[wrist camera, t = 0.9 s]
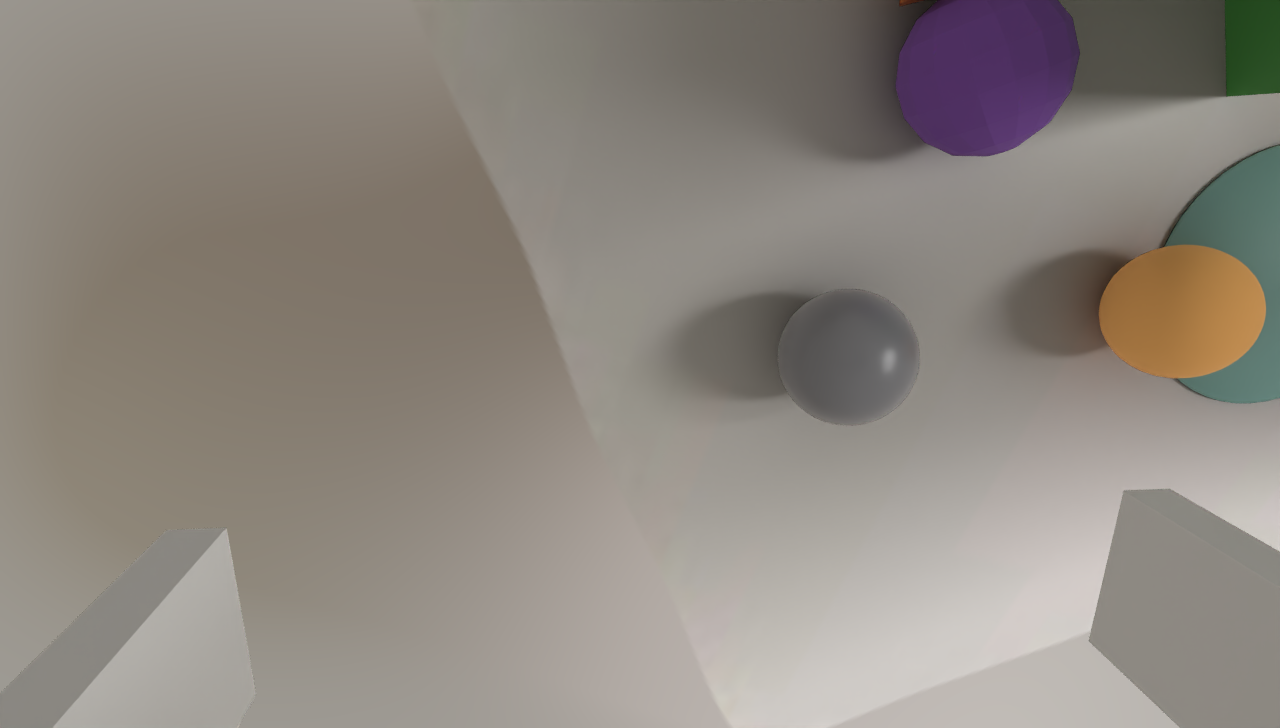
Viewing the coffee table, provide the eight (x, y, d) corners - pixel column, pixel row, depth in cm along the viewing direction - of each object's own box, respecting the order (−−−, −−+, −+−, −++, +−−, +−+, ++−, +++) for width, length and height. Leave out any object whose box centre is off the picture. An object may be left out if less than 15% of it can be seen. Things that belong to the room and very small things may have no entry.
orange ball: (1208, 252, 32) (1332, 273, 27) (1155, 367, 33) (1263, 408, 28) (1100, 224, 31) (1206, 240, 26) (1051, 343, 33) (1142, 382, 27)
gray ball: (901, 292, 31) (967, 323, 26) (861, 408, 33) (916, 459, 27) (783, 265, 30) (826, 290, 25) (748, 385, 32) (782, 433, 27)
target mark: (1452, 176, 32) (1457, 176, 32) (1320, 422, 35) (1324, 424, 35) (1224, 109, 30) (1228, 109, 30) (1107, 375, 33) (1110, 376, 33)
